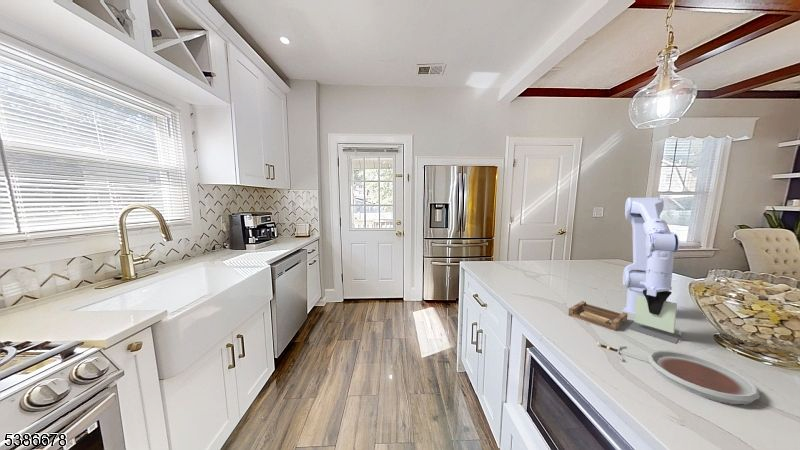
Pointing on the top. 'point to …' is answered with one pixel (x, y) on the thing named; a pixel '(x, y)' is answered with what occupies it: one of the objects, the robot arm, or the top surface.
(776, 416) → the top surface
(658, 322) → the board
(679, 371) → the frying pan
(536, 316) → the top surface
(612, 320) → the rack
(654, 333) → the mat
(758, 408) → the top surface
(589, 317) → the offcut top
